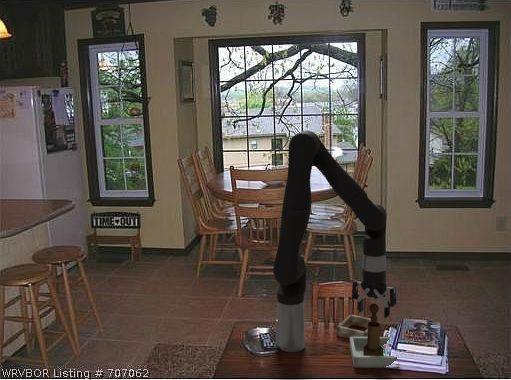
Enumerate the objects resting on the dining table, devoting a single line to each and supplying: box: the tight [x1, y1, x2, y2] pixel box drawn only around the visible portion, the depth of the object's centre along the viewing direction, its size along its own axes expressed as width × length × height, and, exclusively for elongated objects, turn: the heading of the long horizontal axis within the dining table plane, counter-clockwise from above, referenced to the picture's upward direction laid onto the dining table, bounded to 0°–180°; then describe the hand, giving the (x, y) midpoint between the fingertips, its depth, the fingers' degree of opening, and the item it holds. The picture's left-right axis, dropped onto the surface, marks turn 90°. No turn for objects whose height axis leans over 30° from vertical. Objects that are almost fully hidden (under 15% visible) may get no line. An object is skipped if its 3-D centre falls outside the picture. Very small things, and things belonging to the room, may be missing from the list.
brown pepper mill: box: [363, 303, 383, 356], centre depth 173 cm, size 7×6×18 cm
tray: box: [349, 336, 397, 369], centre depth 174 cm, size 14×14×4 cm
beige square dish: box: [336, 314, 379, 340], centre depth 191 cm, size 11×12×4 cm
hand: (373, 314), depth 171 cm, fingers open, 8 cm apart
